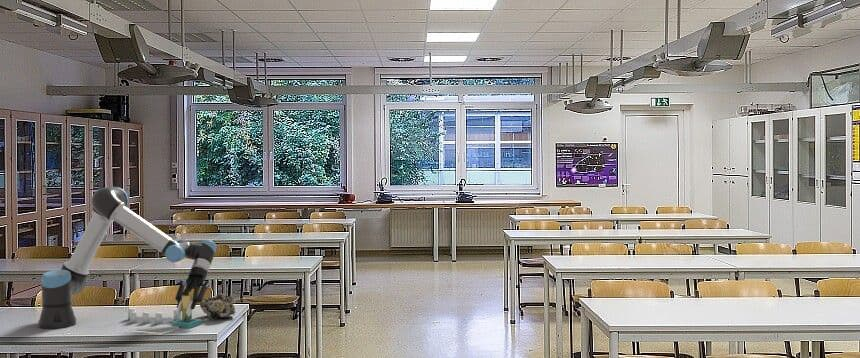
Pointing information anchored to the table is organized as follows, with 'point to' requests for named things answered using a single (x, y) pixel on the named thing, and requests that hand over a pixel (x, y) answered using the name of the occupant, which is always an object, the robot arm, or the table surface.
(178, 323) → the tray
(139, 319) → the board
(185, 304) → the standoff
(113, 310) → the table surface
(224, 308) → the mineral specimen
